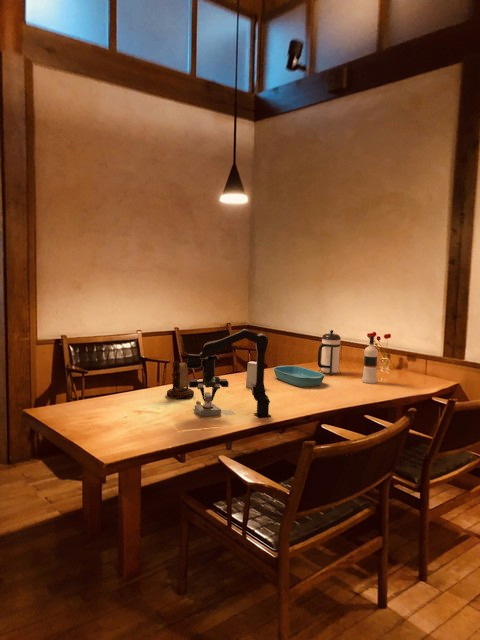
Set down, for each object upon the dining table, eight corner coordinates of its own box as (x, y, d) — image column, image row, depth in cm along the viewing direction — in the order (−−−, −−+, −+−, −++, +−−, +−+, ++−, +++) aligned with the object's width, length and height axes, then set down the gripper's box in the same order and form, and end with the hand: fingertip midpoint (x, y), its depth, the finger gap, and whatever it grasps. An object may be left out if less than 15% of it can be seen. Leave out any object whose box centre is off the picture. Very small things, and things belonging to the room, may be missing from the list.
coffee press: (316, 370, 364) (318, 328, 361) (340, 372, 362) (342, 329, 358) (317, 375, 347) (319, 331, 343) (341, 377, 345) (343, 332, 341)
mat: (236, 415, 251) (236, 414, 251) (225, 416, 249) (225, 415, 249) (230, 410, 258) (230, 409, 258) (219, 411, 256) (219, 410, 256)
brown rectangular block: (210, 411, 255) (210, 392, 254) (212, 415, 247) (212, 396, 246) (203, 411, 254) (203, 392, 253) (204, 415, 246) (205, 396, 245)
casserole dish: (331, 386, 319) (331, 375, 318) (302, 390, 307) (302, 378, 306) (294, 374, 350) (294, 364, 349) (267, 377, 338) (267, 366, 337)
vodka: (360, 382, 330) (363, 335, 327) (363, 380, 338) (366, 334, 335) (375, 384, 326) (377, 337, 323) (378, 381, 334) (381, 335, 331)
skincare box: (245, 387, 309) (246, 362, 307) (249, 385, 314) (250, 360, 313) (259, 388, 306) (259, 364, 304) (262, 386, 311) (263, 362, 310)
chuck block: (220, 416, 248) (221, 409, 248) (200, 418, 244) (201, 411, 244) (207, 405, 266) (207, 398, 266) (188, 407, 263) (188, 400, 262)
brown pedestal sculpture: (179, 401, 273) (179, 363, 271) (161, 395, 283) (161, 359, 281) (199, 396, 284) (200, 360, 282) (181, 391, 294) (182, 356, 292)
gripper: (190, 372, 239) (190, 405, 240) (230, 372, 242) (230, 404, 244) (188, 367, 249) (188, 399, 251) (226, 367, 253) (226, 398, 255)
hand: (208, 400), depth 250 cm, fingers closed on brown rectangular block, 3 cm apart
